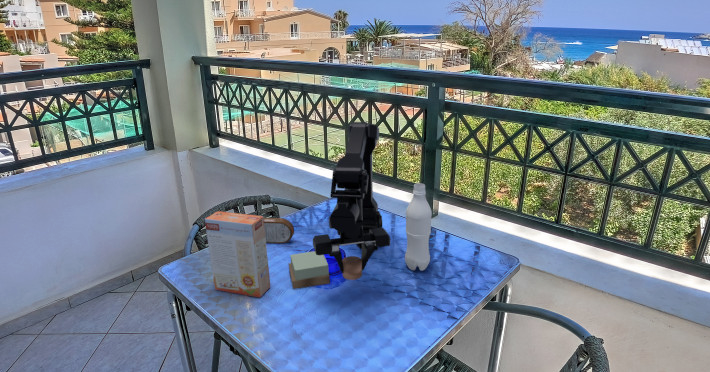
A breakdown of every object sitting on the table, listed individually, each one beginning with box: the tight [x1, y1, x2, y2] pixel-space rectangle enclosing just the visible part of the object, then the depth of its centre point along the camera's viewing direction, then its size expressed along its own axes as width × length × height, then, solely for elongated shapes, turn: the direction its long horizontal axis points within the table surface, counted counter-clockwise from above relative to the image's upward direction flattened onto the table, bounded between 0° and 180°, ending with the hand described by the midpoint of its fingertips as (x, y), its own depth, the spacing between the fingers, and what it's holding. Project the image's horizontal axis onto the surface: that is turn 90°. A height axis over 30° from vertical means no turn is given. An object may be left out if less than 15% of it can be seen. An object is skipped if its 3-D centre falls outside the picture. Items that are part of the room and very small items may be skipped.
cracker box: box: [204, 210, 271, 298], centre depth 109 cm, size 14×6×21 cm, turn 71°
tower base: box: [288, 262, 331, 290], centre depth 117 cm, size 10×10×3 cm
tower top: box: [290, 250, 330, 280], centre depth 116 cm, size 9×9×3 cm
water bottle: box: [404, 182, 433, 272], centre depth 117 cm, size 7×7×25 cm
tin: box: [263, 217, 295, 245], centre depth 137 cm, size 15×3×8 cm, turn 84°
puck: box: [342, 255, 363, 281], centre depth 107 cm, size 5×5×4 cm
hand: (352, 270), depth 107 cm, fingers closed on puck, 5 cm apart
